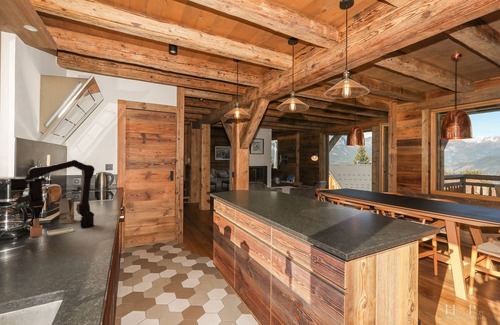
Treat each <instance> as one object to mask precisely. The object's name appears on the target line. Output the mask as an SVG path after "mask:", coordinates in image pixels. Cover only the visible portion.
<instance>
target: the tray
mask: <svg viewBox="0 0 500 325" xmlns="http://www.w3.org/2000/svg"><path fill="white" fill-rule="evenodd" d="M74 232H75V229H74V227H65V228H58V229H53V230H47V231H46V235H47V237H51V236H56V235H62V234H69V233H74Z"/></svg>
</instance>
